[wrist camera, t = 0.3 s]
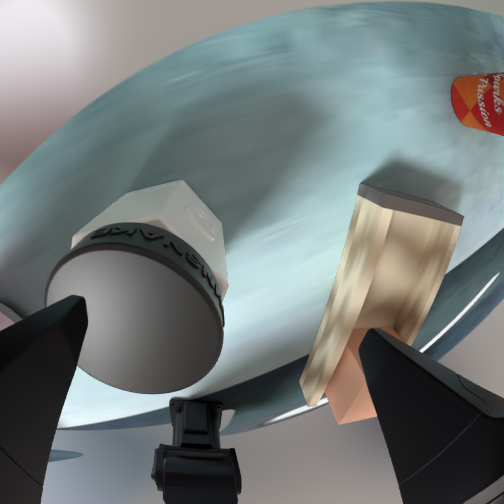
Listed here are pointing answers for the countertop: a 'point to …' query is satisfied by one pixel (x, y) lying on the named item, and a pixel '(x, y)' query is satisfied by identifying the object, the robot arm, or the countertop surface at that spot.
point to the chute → (382, 275)
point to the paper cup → (480, 101)
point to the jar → (148, 289)
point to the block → (351, 382)
